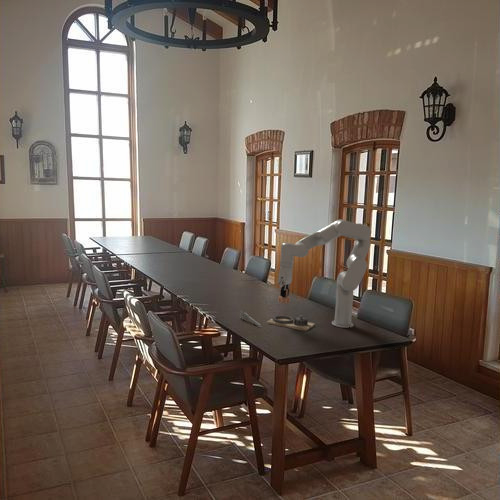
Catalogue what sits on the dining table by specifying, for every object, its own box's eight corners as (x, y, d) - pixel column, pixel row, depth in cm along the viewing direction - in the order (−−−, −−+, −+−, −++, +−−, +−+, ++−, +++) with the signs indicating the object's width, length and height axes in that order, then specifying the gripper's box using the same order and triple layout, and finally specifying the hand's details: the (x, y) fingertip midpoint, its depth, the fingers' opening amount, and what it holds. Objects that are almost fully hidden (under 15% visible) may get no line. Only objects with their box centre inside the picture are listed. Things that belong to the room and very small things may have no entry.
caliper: (239, 319, 289) (240, 308, 288) (241, 318, 290) (241, 308, 289) (260, 328, 273) (261, 317, 272) (262, 328, 274) (263, 317, 273)
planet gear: (281, 299, 288) (281, 287, 287) (291, 301, 285) (292, 289, 284) (276, 302, 282) (276, 289, 281) (287, 304, 279) (287, 291, 278)
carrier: (277, 318, 294) (277, 307, 294) (314, 325, 283) (315, 314, 283) (266, 323, 282) (267, 312, 281) (305, 331, 271) (306, 320, 270)
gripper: (286, 262, 289) (284, 292, 292) (274, 265, 275) (272, 297, 277) (298, 263, 286) (296, 294, 288) (286, 267, 271) (284, 299, 274)
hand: (284, 295), depth 283 cm, fingers closed on planet gear, 3 cm apart
